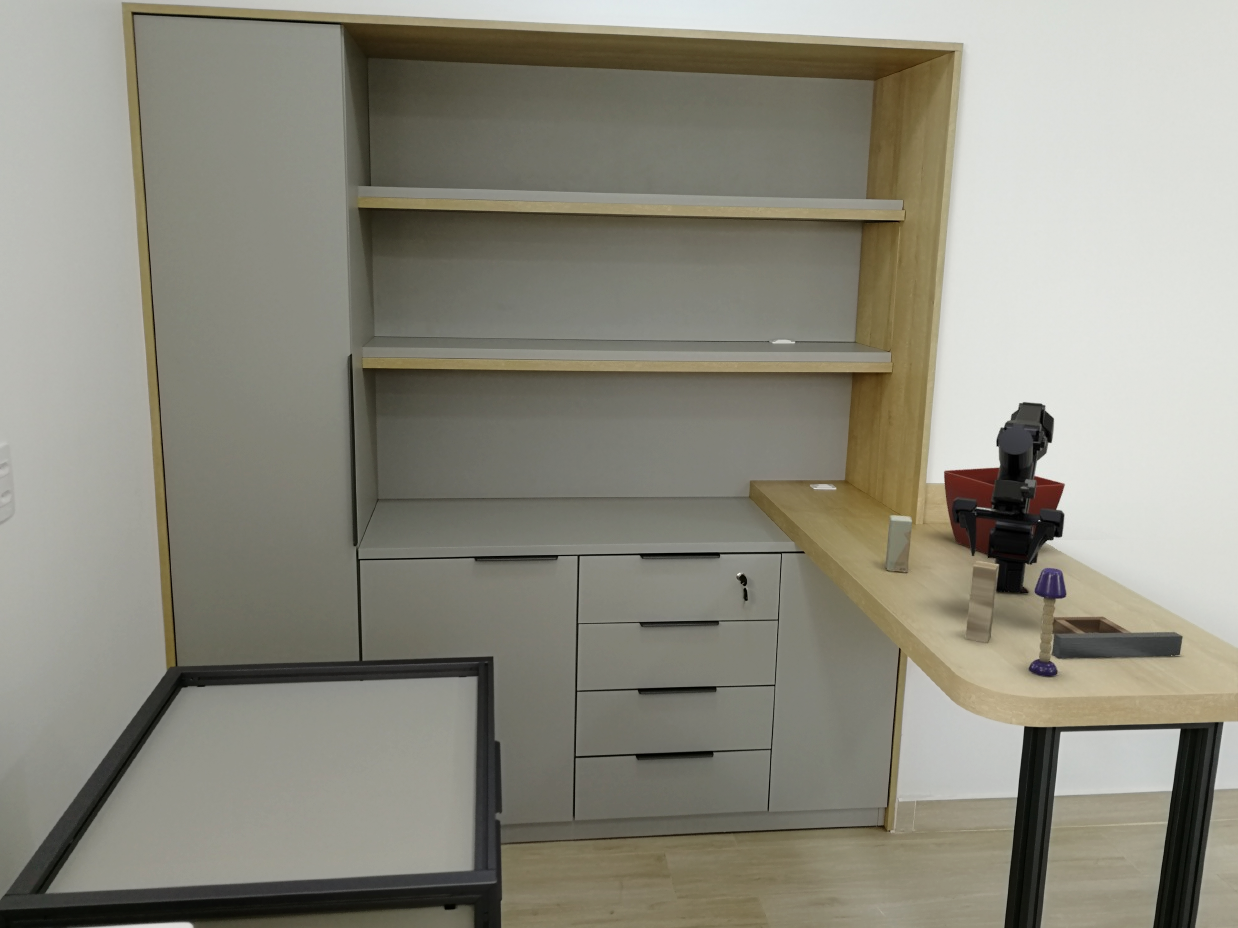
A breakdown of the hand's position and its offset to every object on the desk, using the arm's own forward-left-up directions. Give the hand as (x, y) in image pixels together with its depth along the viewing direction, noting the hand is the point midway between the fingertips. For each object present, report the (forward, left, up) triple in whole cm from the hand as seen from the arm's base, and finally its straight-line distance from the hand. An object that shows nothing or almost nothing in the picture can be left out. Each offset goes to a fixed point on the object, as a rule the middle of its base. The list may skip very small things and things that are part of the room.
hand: (1000, 559), depth 182 cm
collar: (+5, +16, -12) cm, 20 cm away
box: (-33, -10, -13) cm, 37 cm away
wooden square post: (+7, -4, -12) cm, 15 cm away
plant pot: (-55, +17, -13) cm, 59 cm away
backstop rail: (+11, +17, -12) cm, 24 cm away
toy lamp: (+21, +2, -13) cm, 24 cm away
